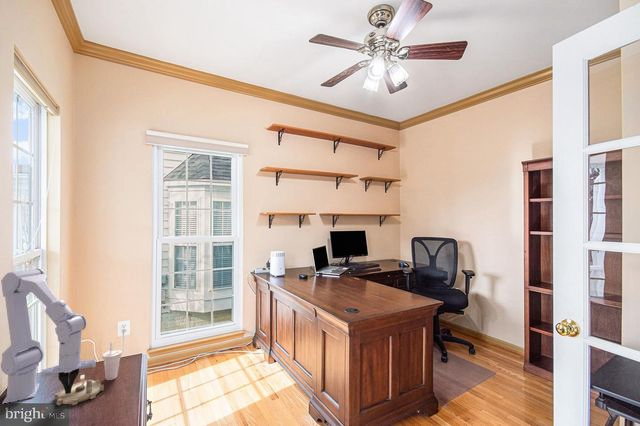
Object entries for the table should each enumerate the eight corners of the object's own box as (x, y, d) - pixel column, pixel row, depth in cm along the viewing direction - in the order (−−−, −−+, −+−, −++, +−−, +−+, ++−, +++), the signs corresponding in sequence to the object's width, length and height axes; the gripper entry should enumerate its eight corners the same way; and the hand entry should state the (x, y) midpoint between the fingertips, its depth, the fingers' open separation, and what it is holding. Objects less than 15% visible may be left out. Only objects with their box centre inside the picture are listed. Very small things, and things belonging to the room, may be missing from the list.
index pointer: (80, 381, 117) (80, 375, 117) (84, 380, 117) (84, 374, 118) (79, 385, 114) (80, 378, 114) (83, 384, 115) (84, 378, 115)
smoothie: (100, 377, 120) (101, 341, 121) (119, 371, 125) (120, 337, 125) (102, 383, 116) (104, 347, 116) (122, 378, 120) (123, 342, 120)
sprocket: (44, 400, 104) (45, 384, 104) (86, 380, 117) (87, 366, 117) (71, 409, 100) (72, 392, 100) (112, 387, 113) (113, 372, 113)
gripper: (39, 362, 97) (37, 405, 96) (95, 352, 105) (94, 391, 105) (43, 353, 103) (41, 394, 102) (96, 344, 111) (95, 382, 110)
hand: (68, 392), depth 104 cm, fingers closed
